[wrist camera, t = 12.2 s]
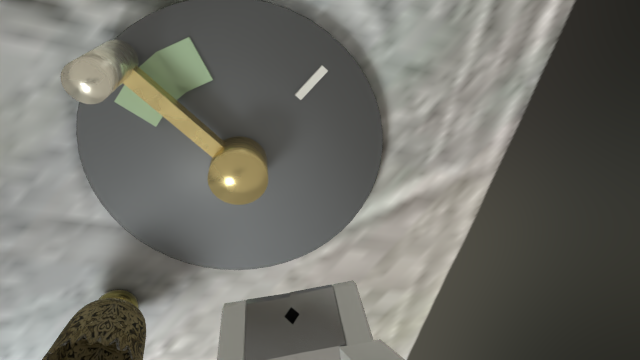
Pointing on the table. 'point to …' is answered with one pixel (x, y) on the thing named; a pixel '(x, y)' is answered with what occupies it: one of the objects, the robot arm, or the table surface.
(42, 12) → the table surface
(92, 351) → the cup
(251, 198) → the needle
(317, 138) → the dial
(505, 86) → the table surface
